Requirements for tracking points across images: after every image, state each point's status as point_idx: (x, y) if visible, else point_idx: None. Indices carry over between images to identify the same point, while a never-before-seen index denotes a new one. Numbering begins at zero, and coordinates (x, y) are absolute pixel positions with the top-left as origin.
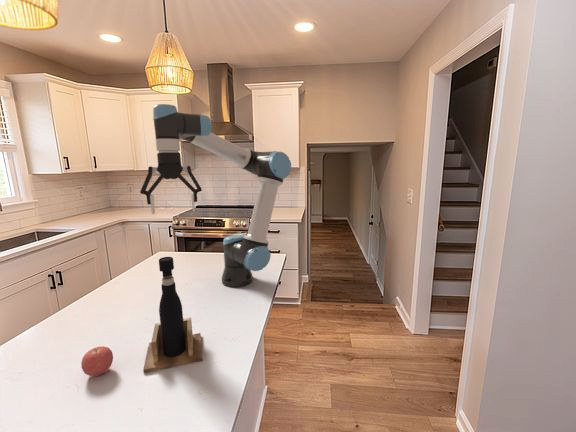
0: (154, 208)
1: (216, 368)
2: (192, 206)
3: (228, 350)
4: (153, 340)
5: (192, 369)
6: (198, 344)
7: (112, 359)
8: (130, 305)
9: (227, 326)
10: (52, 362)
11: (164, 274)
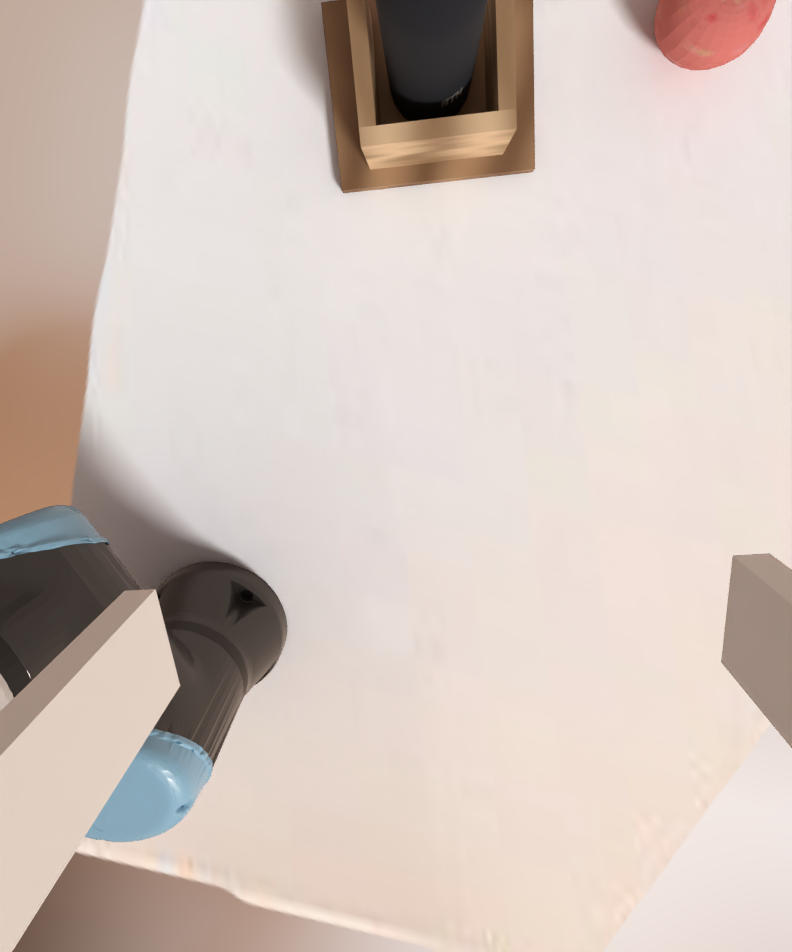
0: (764, 697)
1: None
2: (108, 637)
3: (230, 57)
4: None
5: None
6: (342, 102)
7: (657, 13)
8: (647, 516)
9: (243, 240)
10: None
11: None
